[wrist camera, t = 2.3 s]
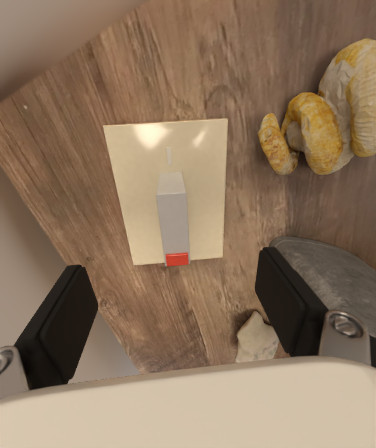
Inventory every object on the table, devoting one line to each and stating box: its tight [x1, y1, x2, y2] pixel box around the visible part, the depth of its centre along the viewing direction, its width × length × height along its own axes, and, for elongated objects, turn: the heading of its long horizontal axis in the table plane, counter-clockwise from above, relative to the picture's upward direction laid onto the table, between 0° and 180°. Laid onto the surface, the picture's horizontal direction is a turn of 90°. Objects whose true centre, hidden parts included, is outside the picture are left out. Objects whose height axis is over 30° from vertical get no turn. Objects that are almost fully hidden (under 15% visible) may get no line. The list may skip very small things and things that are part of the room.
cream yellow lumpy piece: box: [258, 38, 376, 175], centre depth 18 cm, size 10×6×15 cm
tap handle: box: [156, 172, 190, 266], centre depth 17 cm, size 6×2×6 cm, turn 3°
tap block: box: [103, 118, 228, 265], centre depth 21 cm, size 14×10×3 cm
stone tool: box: [235, 311, 279, 363], centre depth 34 cm, size 8×4×15 cm
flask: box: [269, 236, 376, 338], centre depth 20 cm, size 4×14×18 cm, turn 72°
